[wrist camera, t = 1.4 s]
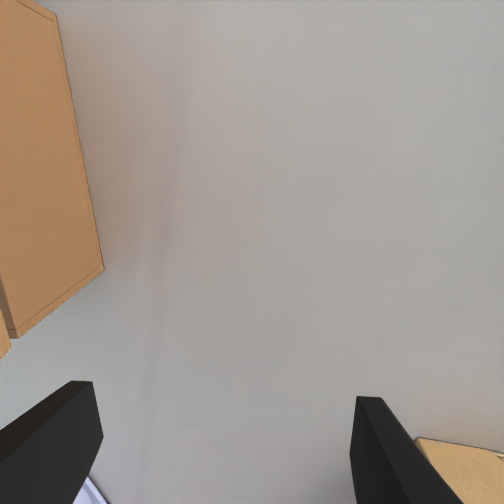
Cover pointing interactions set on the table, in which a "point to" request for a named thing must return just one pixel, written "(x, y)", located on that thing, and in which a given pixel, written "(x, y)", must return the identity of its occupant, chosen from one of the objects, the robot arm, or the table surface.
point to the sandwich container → (467, 470)
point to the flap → (3, 337)
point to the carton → (40, 174)
